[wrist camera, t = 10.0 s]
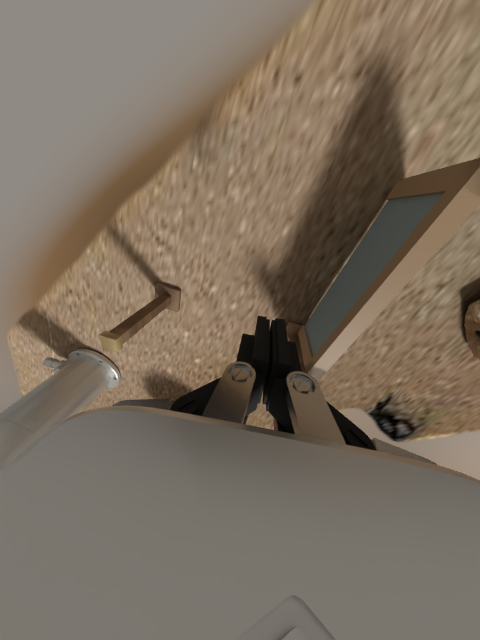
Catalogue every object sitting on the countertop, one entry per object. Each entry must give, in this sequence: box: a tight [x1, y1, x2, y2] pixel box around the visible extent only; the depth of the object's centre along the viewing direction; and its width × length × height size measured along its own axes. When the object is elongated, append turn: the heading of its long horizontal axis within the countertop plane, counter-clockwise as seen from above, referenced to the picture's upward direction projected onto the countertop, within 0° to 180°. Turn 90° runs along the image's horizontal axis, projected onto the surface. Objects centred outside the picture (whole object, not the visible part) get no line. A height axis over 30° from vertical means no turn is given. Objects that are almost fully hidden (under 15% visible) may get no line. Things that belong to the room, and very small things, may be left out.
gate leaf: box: [298, 158, 480, 380], centre depth 19 cm, size 20×2×9 cm, turn 161°
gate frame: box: [100, 283, 306, 373], centre depth 24 cm, size 27×5×14 cm, turn 75°
